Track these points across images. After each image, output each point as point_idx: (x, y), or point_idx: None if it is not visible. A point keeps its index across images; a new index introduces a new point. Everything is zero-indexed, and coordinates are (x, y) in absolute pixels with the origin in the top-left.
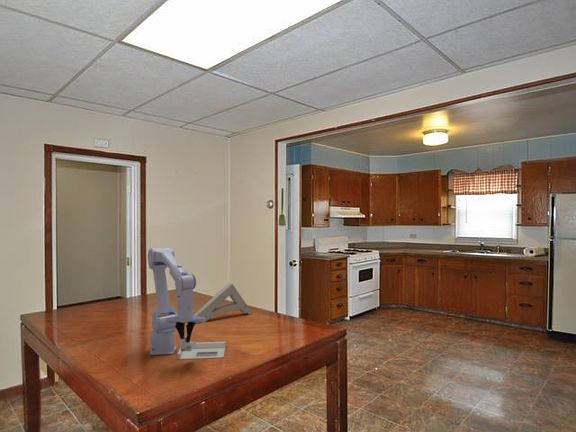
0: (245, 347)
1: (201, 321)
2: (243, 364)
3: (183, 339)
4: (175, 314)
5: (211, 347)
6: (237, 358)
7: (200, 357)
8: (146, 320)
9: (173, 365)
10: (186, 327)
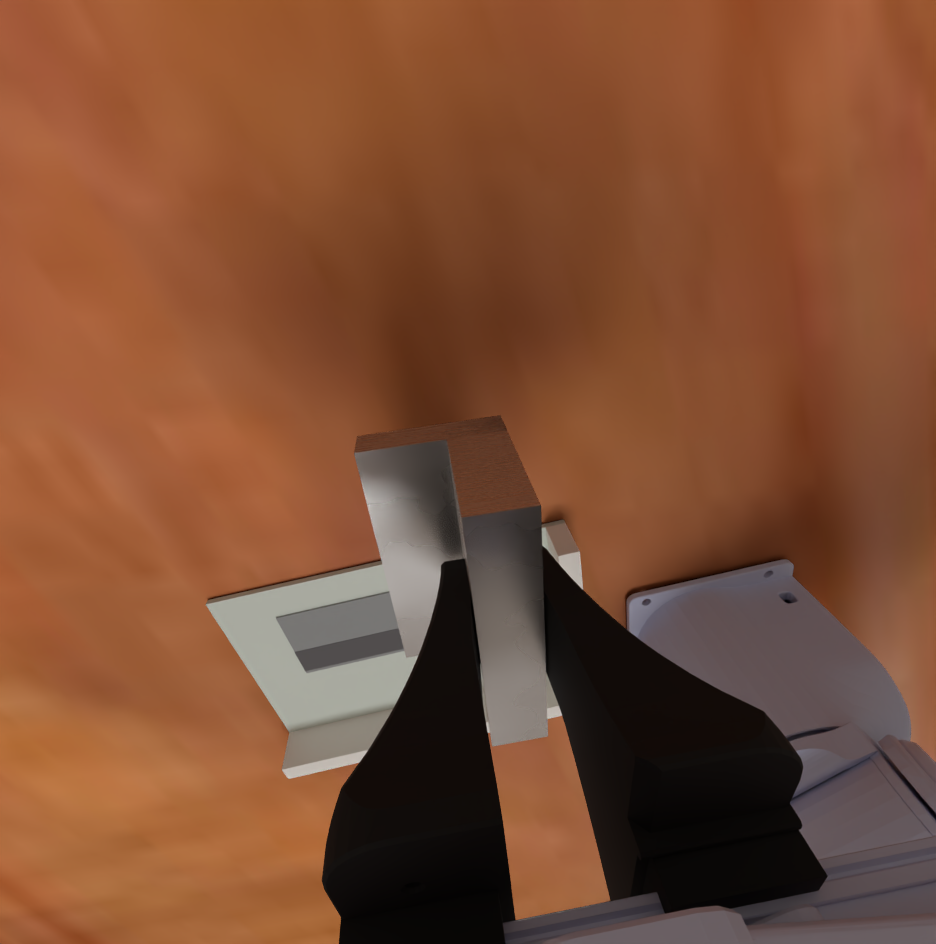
0: (150, 759)
1: None
2: None
3: (487, 510)
4: None
5: (384, 714)
6: (79, 608)
7: None
8: None
9: (562, 417)
10: (488, 761)
